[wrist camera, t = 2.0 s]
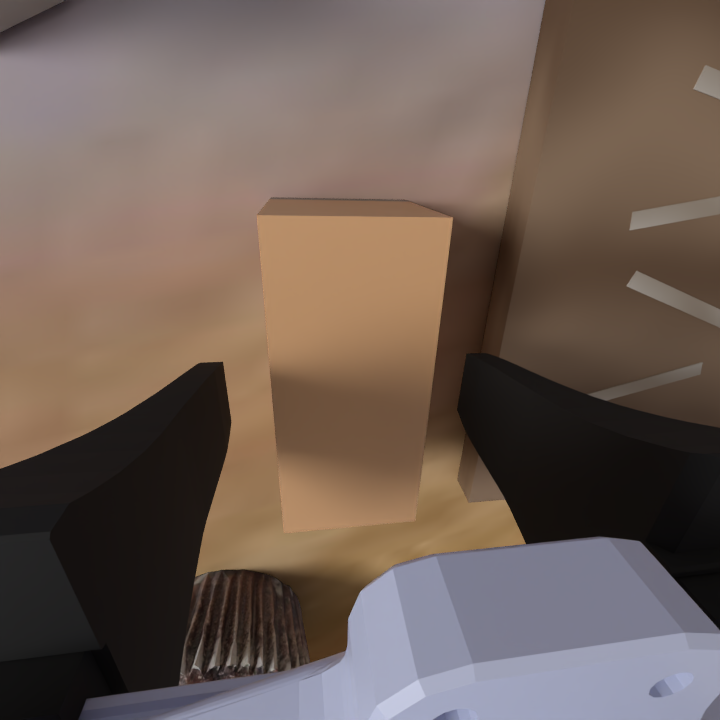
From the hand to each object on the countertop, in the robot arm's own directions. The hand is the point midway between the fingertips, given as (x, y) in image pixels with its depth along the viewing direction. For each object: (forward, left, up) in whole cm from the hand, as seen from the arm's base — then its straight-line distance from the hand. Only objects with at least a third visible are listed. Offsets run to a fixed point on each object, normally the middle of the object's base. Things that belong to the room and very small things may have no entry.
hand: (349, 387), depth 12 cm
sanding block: (0, 0, -4) cm, 4 cm away
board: (+2, -13, -4) cm, 14 cm away
